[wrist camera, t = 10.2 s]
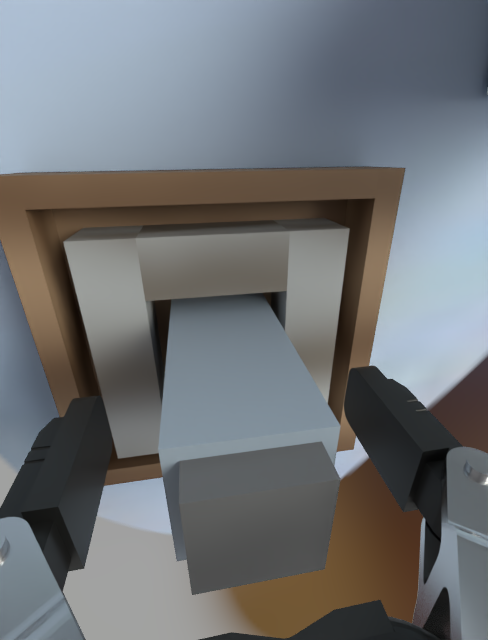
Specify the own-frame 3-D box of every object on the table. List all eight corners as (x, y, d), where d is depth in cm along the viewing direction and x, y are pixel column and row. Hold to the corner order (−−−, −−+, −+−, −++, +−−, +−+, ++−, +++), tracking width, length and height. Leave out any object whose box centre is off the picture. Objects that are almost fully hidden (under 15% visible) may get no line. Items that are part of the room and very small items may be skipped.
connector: (171, 293, 15) (154, 493, 6) (259, 287, 15) (361, 461, 7) (180, 367, 17) (175, 607, 8) (258, 360, 17) (338, 575, 8)
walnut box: (22, 172, 13) (-27, 176, 10) (364, 166, 15) (410, 168, 12) (98, 441, 19) (82, 494, 16) (331, 412, 21) (356, 453, 18)
